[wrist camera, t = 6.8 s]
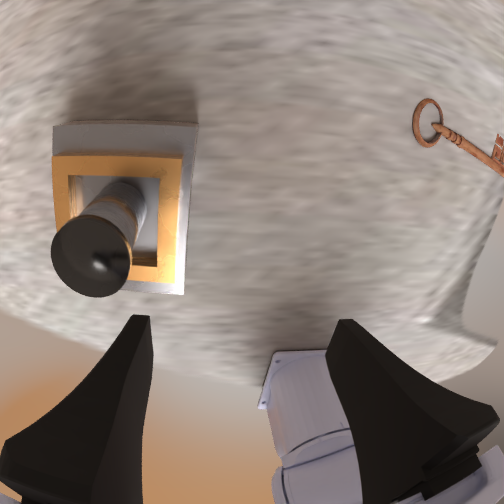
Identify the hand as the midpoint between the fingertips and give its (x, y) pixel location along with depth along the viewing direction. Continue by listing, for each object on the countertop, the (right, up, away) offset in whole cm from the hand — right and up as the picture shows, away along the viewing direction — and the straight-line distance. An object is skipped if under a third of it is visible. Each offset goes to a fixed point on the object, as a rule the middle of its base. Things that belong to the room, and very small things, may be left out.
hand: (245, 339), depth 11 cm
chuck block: (-8, +7, +7) cm, 12 cm away
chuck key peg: (-7, +6, +4) cm, 10 cm away
